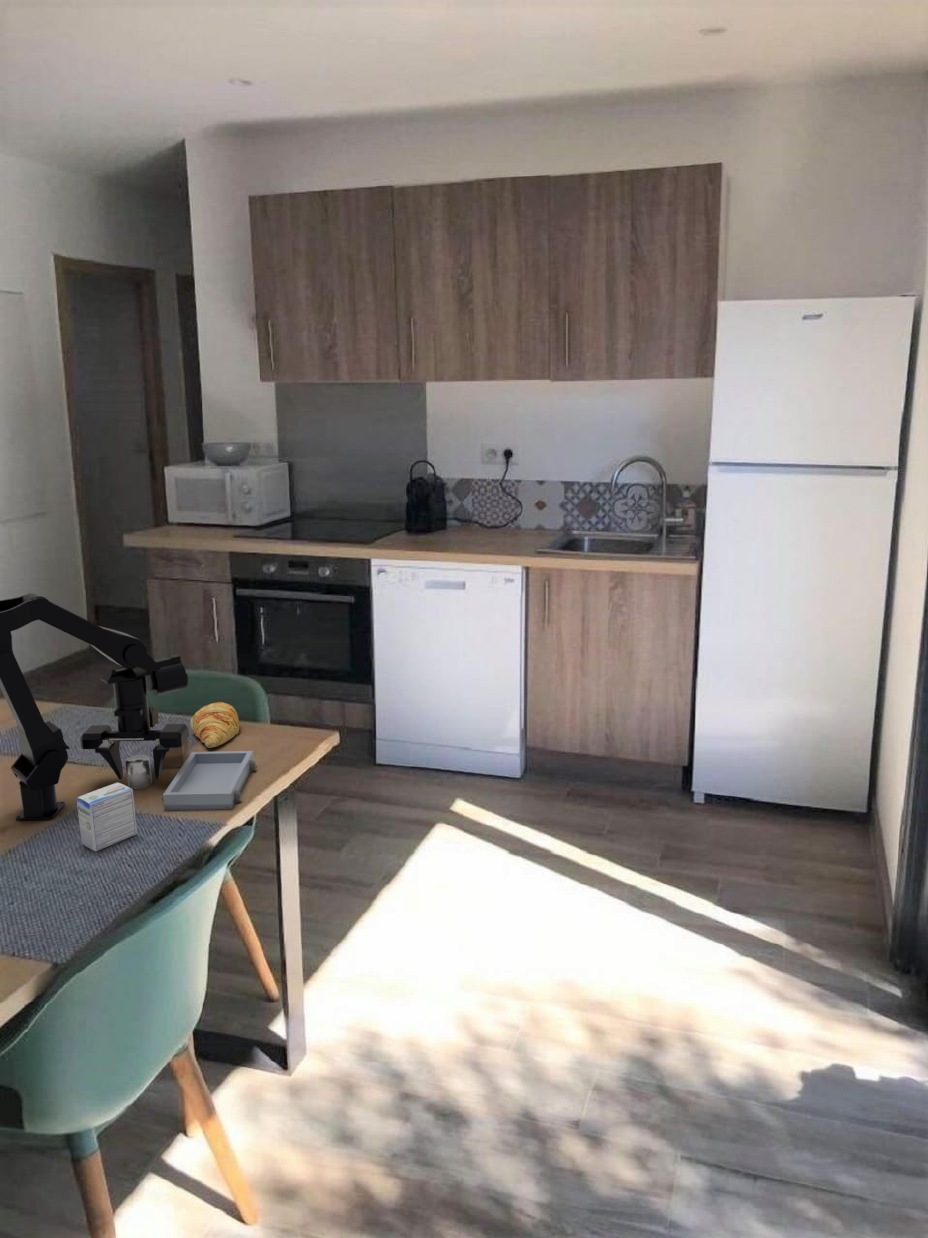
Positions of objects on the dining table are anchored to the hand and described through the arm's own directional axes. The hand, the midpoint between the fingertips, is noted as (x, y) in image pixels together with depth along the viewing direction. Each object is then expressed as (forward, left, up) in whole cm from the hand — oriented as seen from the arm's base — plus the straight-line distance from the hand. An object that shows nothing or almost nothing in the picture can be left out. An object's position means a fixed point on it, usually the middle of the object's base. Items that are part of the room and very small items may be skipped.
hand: (139, 778), depth 188 cm
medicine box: (-23, -2, -1) cm, 23 cm away
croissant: (+26, -8, -2) cm, 27 cm away
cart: (-2, -14, -1) cm, 14 cm away
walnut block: (+10, -4, -1) cm, 11 cm away
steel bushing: (0, 0, -1) cm, 1 cm away
